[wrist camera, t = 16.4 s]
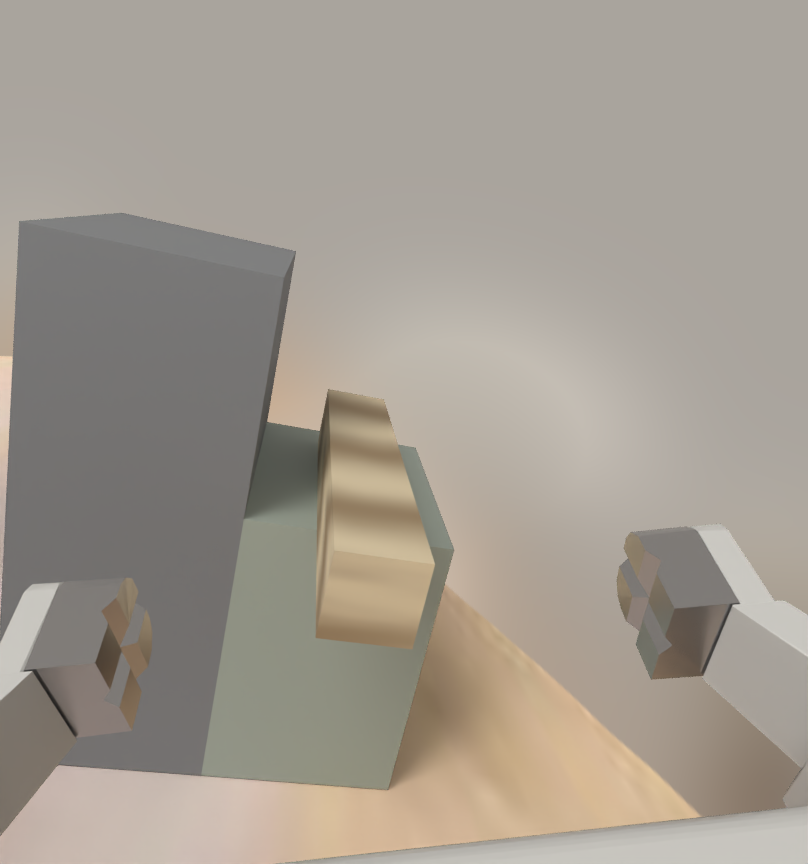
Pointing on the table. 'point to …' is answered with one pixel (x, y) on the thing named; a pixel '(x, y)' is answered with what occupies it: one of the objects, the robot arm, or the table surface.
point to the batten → (367, 529)
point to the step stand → (192, 503)
